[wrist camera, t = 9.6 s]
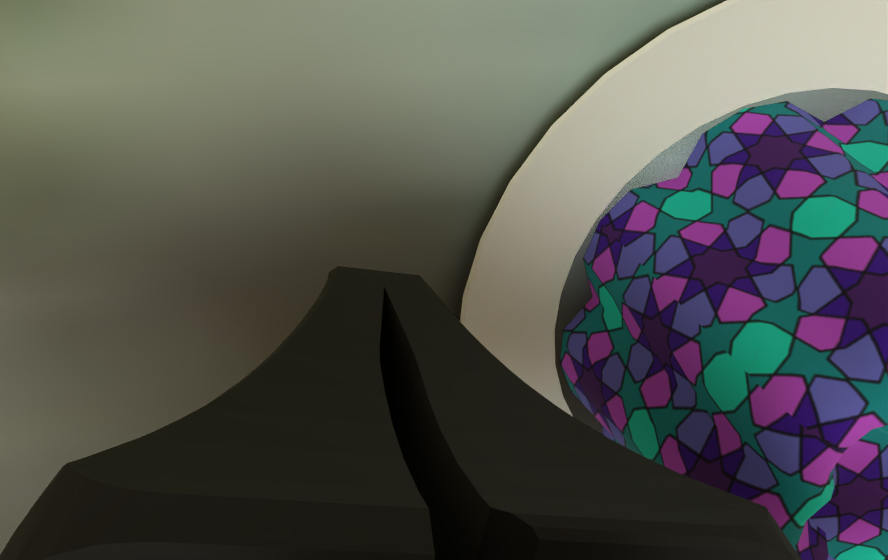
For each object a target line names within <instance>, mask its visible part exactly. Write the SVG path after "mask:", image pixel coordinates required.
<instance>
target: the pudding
mask: <svg viewBox="0 0 888 560" xmlns="http://www.w3.org/2000/svg"><path fill="white" fill-rule="evenodd" d="M825 88H844V89H860V90H874V91H878V92H882V93H885V94H888V0H726V1H724V2H722V3H720V4H718V5H716V6H714V7H712V8H710V9H708V10H706V11H704V12H702V13H700V14H698V15H696V16H694V17H692V18H690V19H688V20H686V21H684V22H682V23H680V24H678V25H676V26H674V27H672V28H670V29H667V30H666V31H665V32H663V33H662V34H660V35H659V36H658V37H656V38H655V39H653V40H652V41H650V42H649V43H648V44H646V45H645V46H643V47H642V48H641V49H639V50H638V51H636V52H635V53H634V54H632V55H631V56H629V57H628V58H626V59H625V60H624V61H622V62H621V63H619V64H618V65H617V66H615V67H614V68H612V69H611V70H609V71H608V72H607V73H605V74H604V75H603V76H602V77H601V78H600V79H599V80H598V81H597V82H596V83H595V84H594V85H593V86H592V87H591V88H590V89H589V90H588V91H587V92H586V93H585V94H584V95H583V96H581V97H580V98H579V99H578V100H577V101H576V102H575V103H574V104H573V105H572V106H571V107H570V108H569V109H568V110H567V111H566V112H565V113H564V114H563V115H562V116H561V117H560V118H559V119H558V120H557V121H556V122H555V123H554V124H553V125H552V126H551V127H550V128H549V130H548V131H547V133H546V134H545V135H544V137H543V138H542V139H541V141H540V142H539V143H538V145H537V146H536V147H535V149H534V150H533V151H532V153H531V154H530V155H529V157H528V158H527V159H526V161H525V162H524V163H523V165H522V166H521V167H520V169H519V170H518V171H517V173H516V174H515V175H514V177H513V178H512V179H511V181H510V182H509V184H508V186H507V188H506V190H505V192H504V194H503V196H502V198H501V200H500V202H499V204H498V206H497V208H496V210H495V212H494V214H493V215H492V217H491V219H490V221H489V223H488V225H487V227H486V229H485V231H484V233H483V235H482V237H481V239H480V242H479V245H478V248H477V252H476V255H475V258H474V261H473V265H472V268H471V271H470V274H469V278H468V281H467V284H466V287H465V291H464V294H463V300H462V309H461V318H460V322H461V323H462V324H463V325H464V326H465V327H466V328H467V329H468V331H469V332H470V333H471V334H472V335H473V336H474V337H475V338H476V339H477V340H478V341H479V342H480V343H481V344H482V345H483V346H484V347H485V348H486V349H487V350H488V351H490V352H491V353H492V354H493V355H494V356H495V357H496V358H497V359H498V360H499V361H501V362H502V363H503V364H504V365H505V366H506V367H507V368H508V369H509V370H510V371H512V372H513V373H514V374H515V375H516V376H518V377H519V378H520V379H521V380H523V381H524V382H525V383H526V384H528V385H529V386H530V387H532V388H533V389H534V390H536V391H537V392H538V393H540V394H541V395H542V396H544V397H545V398H547V399H548V400H549V401H551V402H552V403H553V404H555V405H556V406H557V407H559V408H560V409H562V410H563V411H565V412H567V413H568V414H570V415H571V416H572V414H571V411H570V409H569V407H568V405H567V403H566V401H565V399H564V397H563V395H562V390H561V386H560V382H559V378H558V374H557V369H556V365H555V325H556V319H557V313H558V308H559V302H560V297H561V292H562V290H563V287H564V284H565V282H566V279H567V276H568V274H569V271H570V268H571V266H572V263H573V260H574V258H575V256H576V254H577V252H578V250H579V249H580V247H581V245H582V243H583V242H584V240H585V238H586V237H587V235H588V233H589V231H590V230H591V228H592V226H593V225H594V223H595V221H596V219H597V218H598V217H599V216H600V215H601V213H602V212H603V211H604V210H605V208H606V207H607V206H608V205H609V203H610V202H611V201H612V200H613V199H614V197H615V196H616V195H617V194H618V192H619V191H620V190H621V189H622V188H623V186H624V185H625V184H626V183H627V182H628V181H629V180H631V179H632V178H633V177H634V176H635V175H636V174H637V173H638V172H639V171H640V170H642V169H643V168H644V167H645V166H646V165H647V164H648V163H649V162H650V161H651V160H653V159H654V158H655V157H656V156H657V155H658V154H659V153H660V152H662V151H663V150H665V149H666V148H668V147H669V146H671V145H672V144H674V143H675V142H677V141H678V140H680V139H681V138H683V137H684V136H686V135H687V134H689V133H690V132H692V131H693V130H695V129H696V128H698V127H699V126H701V125H704V124H706V123H708V122H710V121H712V120H714V119H716V118H718V117H721V116H723V115H725V114H727V113H729V112H731V111H733V110H735V109H738V108H740V107H742V106H745V105H748V104H752V103H755V102H758V101H762V100H765V99H769V98H772V97H775V96H779V95H782V94H786V93H792V92H800V91H808V90H817V89H825ZM583 260H584V264H585V268H586V272H587V276H588V280H589V283H590V287H591V291H592V295H593V297H592V298H591V300H590V301H589V302H588V303H587V304H586V305H585V306H584V307H583V308H582V310H581V311H580V312H579V313H578V314H577V315H576V316H575V317H574V318H573V319H572V321H571V322H570V323H569V324H568V325H567V326H566V327H565V328H564V331H563V339H562V348H561V357H560V365H561V367H562V370H563V372H564V375H565V377H566V380H567V382H568V385H569V387H570V390H571V392H572V393H573V394H574V395H575V396H576V397H577V399H578V400H579V401H580V402H581V403H582V404H583V405H584V406H585V407H586V408H587V409H588V410H589V411H590V412H591V413H592V414H593V415H594V416H595V418H596V419H597V420H598V421H599V422H600V423H601V424H602V425H603V435H604V436H606V437H608V438H609V439H611V440H613V441H615V442H617V443H618V444H620V445H622V446H624V447H626V448H628V449H630V450H632V451H634V452H636V453H638V454H640V455H642V456H644V457H646V458H648V459H650V460H652V461H654V462H656V463H659V464H661V465H663V466H665V467H667V468H669V469H671V470H673V471H676V472H678V473H680V474H682V475H685V476H687V477H689V478H692V479H694V480H697V481H700V482H702V483H705V484H707V485H710V486H713V487H715V488H718V489H720V490H723V491H726V492H728V493H731V494H734V495H736V496H739V497H741V498H744V499H747V500H749V501H752V502H754V503H757V504H760V505H762V506H765V507H766V508H767V509H768V511H769V512H770V513H771V515H772V516H773V518H774V519H775V521H776V522H777V524H778V525H779V527H780V528H781V530H782V531H783V533H784V534H785V536H786V537H787V539H788V540H789V542H790V543H791V545H792V546H793V548H794V549H795V551H796V552H797V554H798V555H799V557H800V558H801V560H888V101H886V100H878V99H869V100H867V101H865V102H863V103H861V104H859V105H857V106H855V107H853V108H851V109H849V110H847V111H845V112H843V113H841V114H839V115H837V116H835V117H833V118H831V119H829V120H827V121H825V122H823V121H821V120H819V119H817V118H816V117H814V116H812V115H810V114H809V113H807V112H805V111H803V110H802V109H800V108H798V107H796V106H795V105H793V104H791V103H789V102H788V101H786V102H780V103H775V104H769V105H763V106H758V107H752V108H747V109H743V110H741V111H739V112H738V113H736V114H734V115H733V116H731V117H729V118H728V119H726V120H724V121H723V122H721V123H719V124H718V125H716V126H714V127H713V128H711V129H709V130H708V131H706V132H705V133H703V134H702V135H701V137H700V139H699V141H698V143H697V144H696V146H695V148H694V150H693V152H692V153H691V155H690V157H689V159H688V161H687V162H686V164H685V166H684V168H683V169H682V171H681V173H680V175H679V177H678V178H675V179H671V180H667V181H663V182H659V183H655V184H652V185H648V186H644V187H640V188H636V189H632V190H630V191H629V192H628V193H627V194H626V195H625V196H624V197H623V198H622V199H621V200H620V201H619V202H618V203H617V204H616V205H615V206H614V207H613V208H612V209H611V210H610V211H609V212H608V213H607V214H606V215H605V216H604V217H603V218H602V219H601V220H600V221H599V224H598V226H597V228H596V231H595V233H594V235H593V237H592V240H591V242H590V244H589V247H588V249H587V251H586V254H585V256H584V258H583Z"/></svg>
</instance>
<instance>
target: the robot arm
mask: <svg viewBox="0 0 888 560" xmlns="http://www.w3.org/2000/svg"><path fill="white" fill-rule="evenodd" d="M0 560H801V558H800V557H799V555H798V554H797V552H796V551H795V549H794V548H793V546H792V545H791V543H790V542H789V540H788V539H787V537H786V536H785V534H784V533H783V531H782V530H781V528H780V527H779V525H778V524H777V522H776V521H775V519H774V518H773V516H772V515H771V513H770V512H769V511H768V509H767V508H766V507H765V506H762V505H760V504H757V503H754V502H752V501H749V500H747V499H744V498H741V497H739V496H736V495H734V494H731V493H728V492H726V491H723V490H720V489H718V488H715V487H713V486H710V485H707V484H705V483H702V482H700V481H697V480H694V479H692V478H689V477H687V476H685V475H682V474H680V473H678V472H676V471H673V470H671V469H669V468H667V467H665V466H663V465H661V464H659V463H656V462H654V461H652V460H650V459H648V458H646V457H644V456H642V455H640V454H638V453H636V452H634V451H632V450H630V449H628V448H626V447H624V446H622V445H620V444H618V443H617V442H615V441H613V440H611V439H609V438H608V437H606V436H604V435H603V434H601V433H599V432H598V431H596V430H594V429H592V428H591V427H589V426H587V425H586V424H584V423H582V422H581V421H579V420H577V419H576V418H574V417H573V416H571V415H570V414H568V413H567V412H565V411H563V410H562V409H560V408H559V407H557V406H556V405H555V404H553V403H552V402H551V401H549V400H548V399H547V398H545V397H544V396H542V395H541V394H540V393H538V392H537V391H536V390H534V389H533V388H532V387H530V386H529V385H528V384H526V383H525V382H524V381H523V380H521V379H520V378H519V377H518V376H516V375H515V374H514V373H513V372H512V371H510V370H509V369H508V368H507V367H506V366H505V365H504V364H503V363H502V362H501V361H499V360H498V359H497V358H496V357H495V356H494V355H493V354H492V353H491V352H490V351H488V350H487V349H486V348H485V347H484V346H483V345H482V344H481V343H480V342H479V341H478V340H477V339H476V338H475V337H474V336H473V335H472V334H471V333H470V332H469V331H468V329H467V328H466V327H465V326H464V325H463V324H462V323H461V322H460V321H459V320H458V319H457V318H456V317H455V315H454V314H453V313H452V312H451V311H450V310H449V309H448V308H447V306H446V305H445V304H444V303H443V302H442V301H441V300H440V298H439V297H438V296H437V295H436V294H435V293H434V291H433V290H432V289H431V288H430V287H429V286H428V285H427V283H426V282H425V281H424V280H423V279H422V278H421V277H420V276H419V275H410V274H401V273H393V272H384V271H375V270H366V269H357V268H348V267H339V266H338V267H336V268H335V269H333V270H332V271H331V272H329V277H328V280H327V283H326V285H325V287H324V289H323V291H322V292H321V294H320V296H319V297H318V299H317V301H316V302H315V303H314V305H313V306H312V308H311V309H310V310H309V312H308V313H307V314H306V316H305V317H304V318H303V320H302V321H301V322H300V324H299V325H298V326H297V327H296V329H295V330H294V331H293V332H292V333H291V334H290V335H289V336H288V337H287V338H286V339H285V341H284V342H283V343H282V344H281V345H280V346H279V347H278V348H277V349H276V350H275V351H274V352H273V353H272V354H271V355H270V356H269V357H268V358H267V359H266V360H265V361H264V362H263V363H262V364H261V365H259V366H258V367H257V368H256V369H255V370H254V371H252V372H251V373H250V374H249V375H248V376H246V377H245V378H244V379H243V380H241V381H240V382H239V383H237V384H236V385H235V386H233V387H232V388H230V389H229V390H228V391H226V392H225V393H223V394H222V395H221V396H219V397H218V398H216V399H215V400H213V401H212V402H210V403H209V404H207V405H206V406H204V407H202V408H200V409H198V410H197V411H195V412H193V413H191V414H189V415H187V416H185V417H183V418H181V419H180V420H178V421H175V422H173V423H171V424H169V425H167V426H165V427H163V428H161V429H158V430H156V431H154V432H152V433H150V434H147V435H145V436H142V437H140V438H138V439H135V440H132V441H130V442H127V443H124V444H121V445H119V446H116V447H113V448H110V449H107V450H105V451H102V452H99V453H96V454H94V455H91V456H88V457H85V458H82V459H79V460H76V461H73V462H69V463H67V464H66V465H64V466H63V467H62V468H61V470H60V471H59V472H58V474H57V475H56V476H55V477H54V479H53V480H52V481H51V483H50V484H49V485H48V487H47V488H46V489H45V491H44V492H43V493H42V495H41V496H40V497H39V499H38V500H37V501H36V503H35V504H34V505H33V507H32V508H31V510H30V511H29V513H28V514H27V516H26V517H25V518H24V520H23V521H22V522H21V524H20V525H19V526H18V528H17V529H16V531H15V532H14V534H13V535H12V537H11V538H10V540H9V542H8V543H7V545H6V547H5V548H4V550H3V552H2V553H1V555H0Z"/></svg>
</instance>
